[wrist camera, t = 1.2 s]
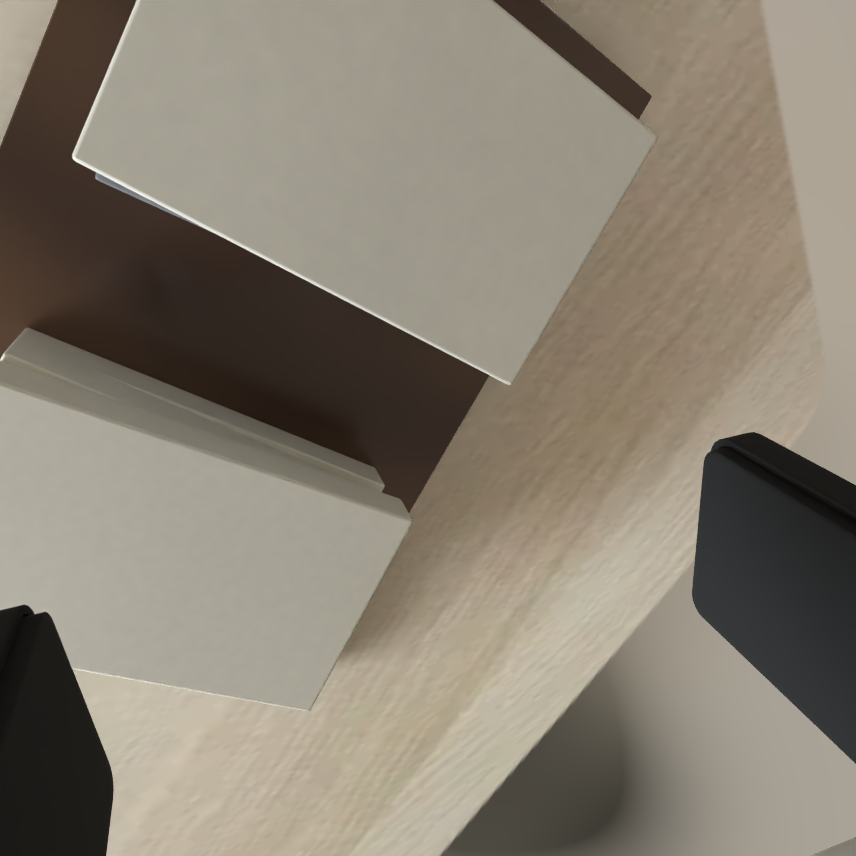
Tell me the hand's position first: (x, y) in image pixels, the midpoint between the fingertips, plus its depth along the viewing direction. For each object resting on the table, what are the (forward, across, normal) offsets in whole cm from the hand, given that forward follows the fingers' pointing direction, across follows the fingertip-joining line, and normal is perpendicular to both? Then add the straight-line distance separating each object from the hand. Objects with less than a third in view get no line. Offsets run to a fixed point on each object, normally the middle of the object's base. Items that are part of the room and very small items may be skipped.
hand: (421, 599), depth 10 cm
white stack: (+13, +5, +4) cm, 14 cm away
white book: (+9, -2, -6) cm, 11 cm away
